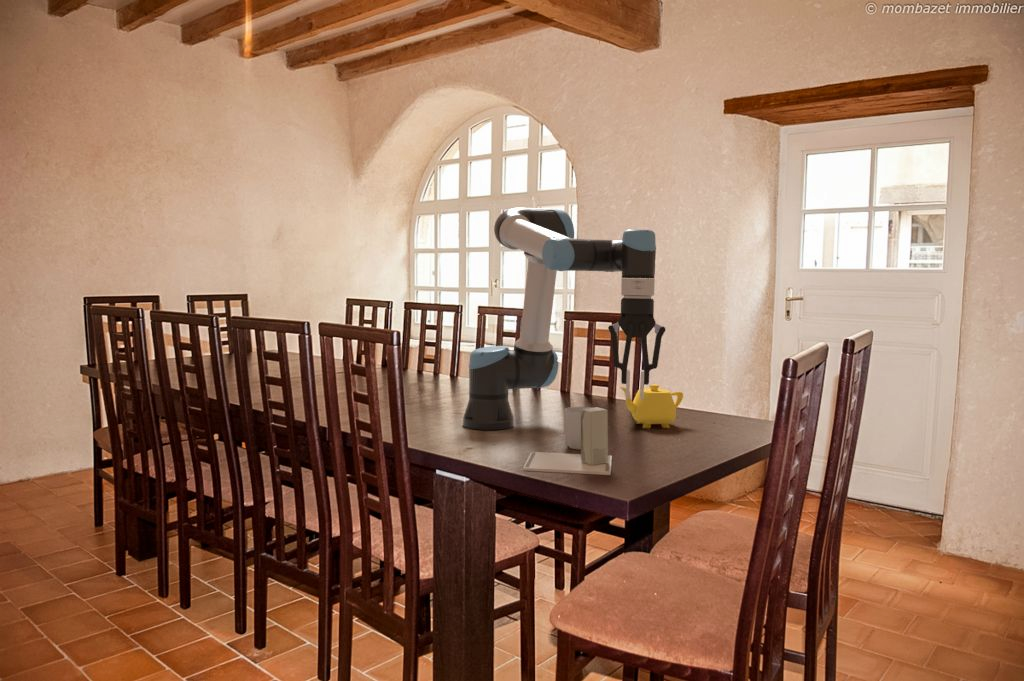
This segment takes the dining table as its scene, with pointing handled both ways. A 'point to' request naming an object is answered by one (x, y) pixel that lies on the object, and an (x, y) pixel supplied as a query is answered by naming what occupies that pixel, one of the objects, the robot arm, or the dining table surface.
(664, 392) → the teapot
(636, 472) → the dining table surface
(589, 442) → the box
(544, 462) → the white tray
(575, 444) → the mug
